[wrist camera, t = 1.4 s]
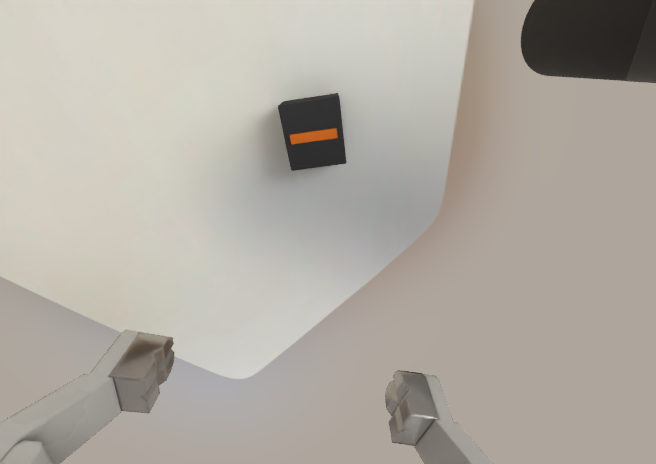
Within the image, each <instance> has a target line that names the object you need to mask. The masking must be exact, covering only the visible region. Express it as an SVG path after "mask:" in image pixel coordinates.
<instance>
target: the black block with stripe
mask: <svg viewBox="0 0 656 464" xmlns="http://www.w3.org/2000/svg"><path fill="white" fill-rule="evenodd" d="M278 108H279V113H280V118H281V123H282V128H283V132H284V137H285V142H286V147H287V152H288V156H289V161H290V166H291V170H292V171H293V170H300V169H308V168H315V167H323V166H330V165H338V164H345V163H346V156H345V147H344V138H343V129H342V120H341V110H340V101H339V95H338V93H336V94H330V95H323V96H317V97H310V98H304V99H297V100H290V101H284V102H282V103H281V104H280V105H279V106H278Z"/></svg>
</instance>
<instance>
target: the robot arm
mask: <svg viewBox="0 0 656 464" xmlns="http://www.w3.org/2000/svg"><path fill="white" fill-rule="evenodd" d="M173 344H174V343H173V338H172V337H166V336H160V335H154V334H148V333H142V332H136V331H129V330H125V331H124V332H122V333H121V334H120V335H119V336H118V338H117V339H116V341H115V342H114V343H113V344H112V345H111V347H110V348H109V349H108V351H107V352H106V353H105V354H104V356H103V357H102V358H101V360H100V361H99V362H98V364H97V365H96V366H95V367H94V369H93V370H92V371H91V373H90V374H83V375H81V376H79V377H78V378H76V379H74V380H73V381H71V382H69V383H67V384H66V385H64V386H62V387H61V388H59V389H57V390H55V391H54V392H52V393H50V394H49V395H47V396H45V397H43V398H42V399H40V400H38V401H37V402H35V403H33V404H31V405H30V406H28V407H26V408H25V409H23V410H21V411H19V412H18V413H16V414H14V415H13V416H11V417H9V418H7V419H6V420H4V421H2V422H1V423H0V464H60V463H61V462H62V461H64V460H65V459H66V458H67V457H68V456H70V455H71V454H72V453H73V452H74V451H76V450H77V449H78V448H79V447H80V446H82V445H83V444H84V443H85V442H86V441H88V440H89V439H90V438H91V437H92V436H94V435H95V434H96V433H97V432H98V431H100V430H101V429H102V428H103V427H105V426H106V425H107V424H108V423H109V422H111V421H112V420H113V419H114V418H115V417H117V416H118V415H119V414H120V413H121V411H129V412H141V413H150V410H151V409H152V407H153V405H154V403H155V401H156V399H157V397H158V395H159V393H160V392H159V385H160V384H162V383H163V382H164V381H166V380H167V378H168V376H169V374H170V372H171V369H172V366H173V363H174V351H173V350H172V349H171V348H172V346H173ZM393 378H394V381H392V382H390V383H389V384H388V386H387V389H386V396H385V397H386V408H387V410H388V412H389V413H390V414H391V416H392V417H391V419H390V421H389V426H390V431H391V438H392V442H393V443H399V444H406V445H413V446H415V449H416V450H417V452H418V453H419V455H420V457H421V459H422V460H423V462H424V463H425V464H493V463H492V462H491V460H490V459H489V458H488V457H487V456H486V455H485V454H484V452H483V451H482V450H481V449H480V448H479V447H478V446H477V444H476V443H475V442H474V441H473V440H472V439H471V437H470V436H469V435H468V434H467V433H466V432H465V431H464V429H463V428H462V427H461V426H460V425H459V424H458V423H457V422H454V421H453V418H452V416H451V413H450V410H449V407H448V404H447V401H446V399H445V396H444V393H443V390H442V387H441V384H440V382H439V379H438V378H437V376H434V375H427V374H422V373H415V372H408V371H400V370H398V371H396V372H395V373H394V375H393Z"/></svg>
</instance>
